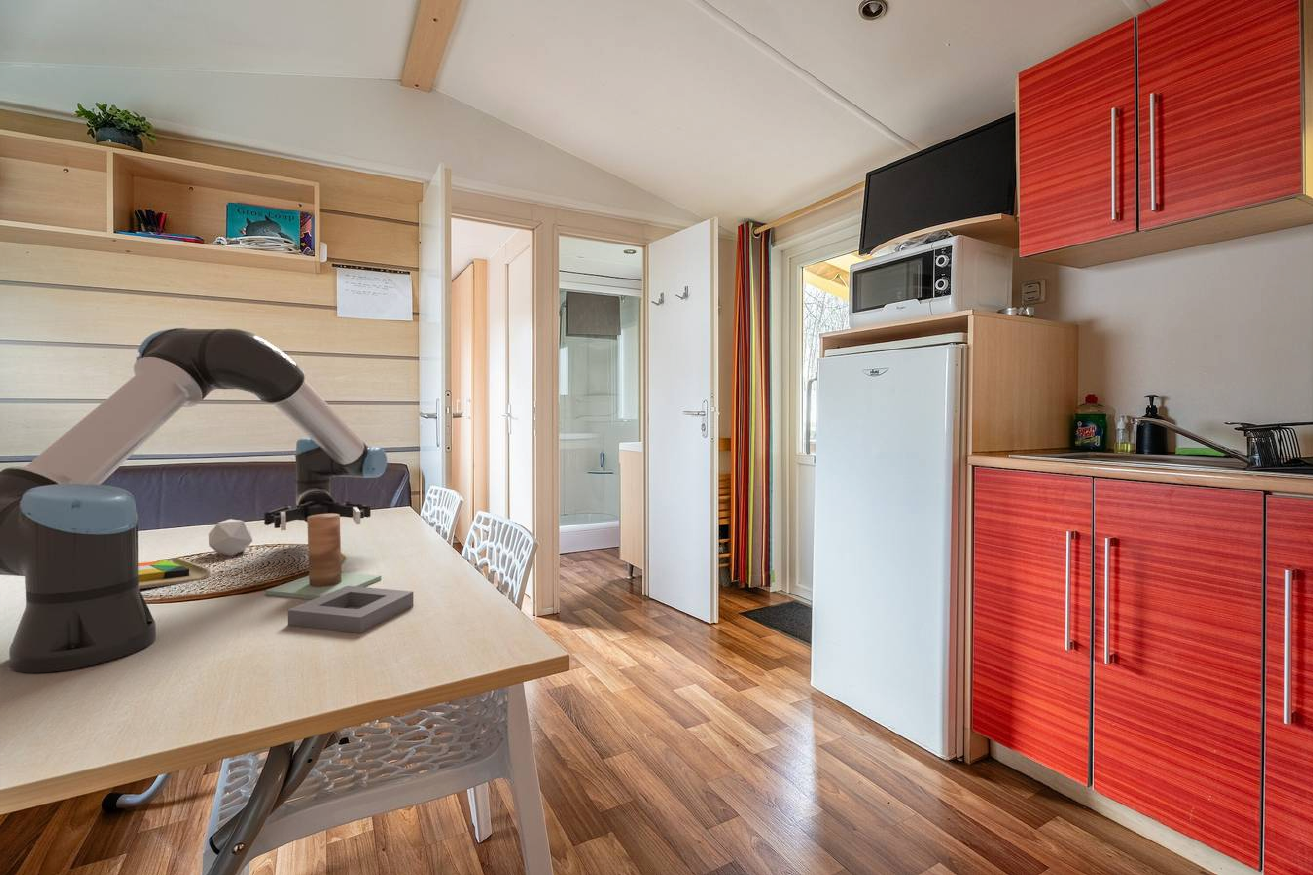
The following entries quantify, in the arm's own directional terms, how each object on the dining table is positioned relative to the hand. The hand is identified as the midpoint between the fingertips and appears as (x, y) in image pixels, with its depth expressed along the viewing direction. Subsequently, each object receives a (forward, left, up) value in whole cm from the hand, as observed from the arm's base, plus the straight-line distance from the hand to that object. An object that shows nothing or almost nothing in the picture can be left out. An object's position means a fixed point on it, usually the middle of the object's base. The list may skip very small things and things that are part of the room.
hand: (322, 520), depth 125 cm
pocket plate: (-19, -23, -11) cm, 32 cm away
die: (+9, +33, -12) cm, 36 cm away
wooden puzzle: (-13, +31, -12) cm, 36 cm away
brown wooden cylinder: (-7, -7, -11) cm, 14 cm away
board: (-7, -7, -11) cm, 15 cm away
